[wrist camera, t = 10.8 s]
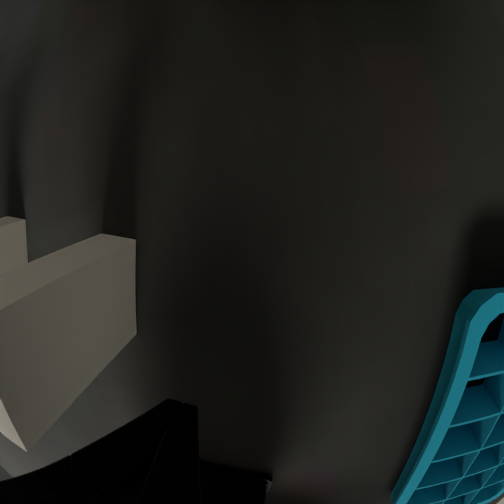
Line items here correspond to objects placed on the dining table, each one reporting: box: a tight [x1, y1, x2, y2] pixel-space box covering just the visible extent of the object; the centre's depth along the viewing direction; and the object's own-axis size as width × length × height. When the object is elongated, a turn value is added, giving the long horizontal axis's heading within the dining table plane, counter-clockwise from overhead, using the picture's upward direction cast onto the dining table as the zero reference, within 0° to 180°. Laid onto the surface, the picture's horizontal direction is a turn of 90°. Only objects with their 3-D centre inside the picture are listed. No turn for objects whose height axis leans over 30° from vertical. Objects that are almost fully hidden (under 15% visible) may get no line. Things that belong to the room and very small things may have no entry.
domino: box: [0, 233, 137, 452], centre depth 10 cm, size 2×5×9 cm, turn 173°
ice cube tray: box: [391, 287, 504, 504], centre depth 12 cm, size 12×20×3 cm, turn 3°
